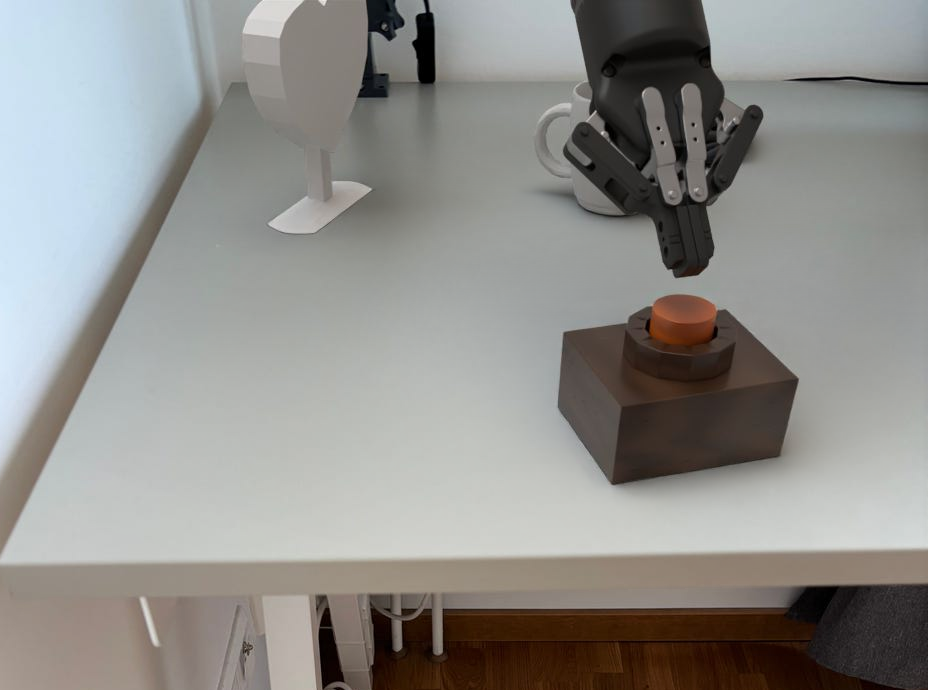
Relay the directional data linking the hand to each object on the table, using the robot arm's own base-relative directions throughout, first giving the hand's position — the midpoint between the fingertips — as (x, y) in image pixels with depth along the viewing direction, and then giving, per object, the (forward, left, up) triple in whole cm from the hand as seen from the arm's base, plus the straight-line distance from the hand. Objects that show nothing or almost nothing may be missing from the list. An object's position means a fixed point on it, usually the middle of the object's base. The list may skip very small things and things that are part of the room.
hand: (692, 272), depth 66 cm
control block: (0, 0, -11) cm, 11 cm away
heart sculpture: (+26, -40, -11) cm, 49 cm away
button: (0, 0, -4) cm, 4 cm away
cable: (-12, -58, -11) cm, 60 cm away
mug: (0, -41, -11) cm, 43 cm away
